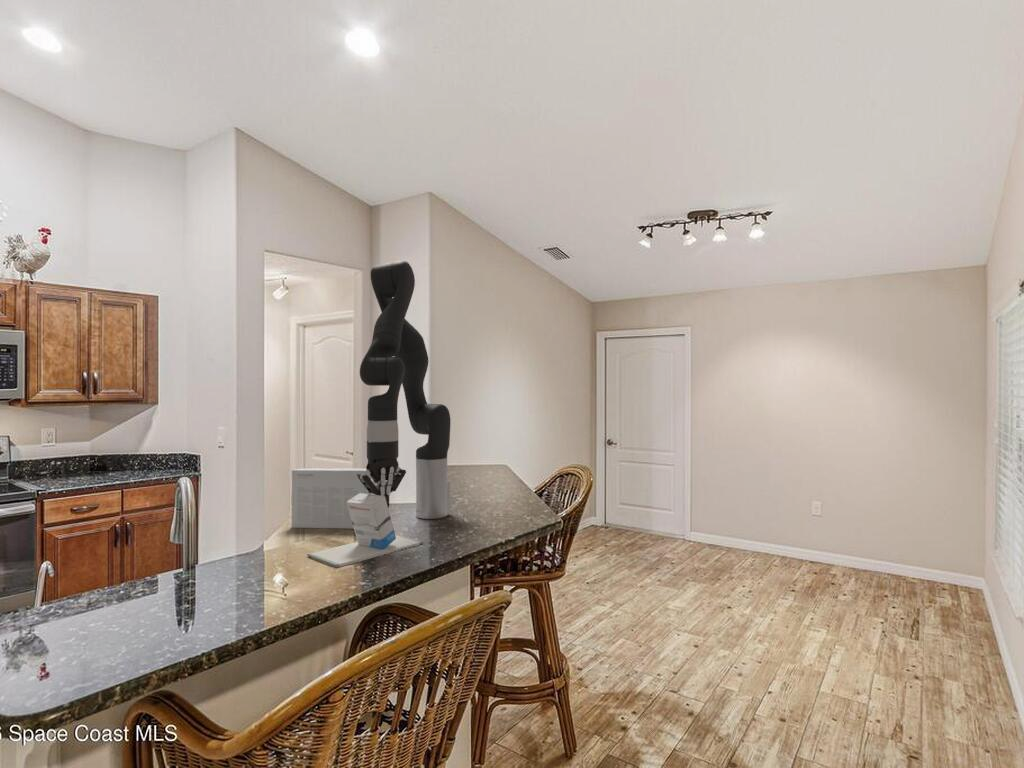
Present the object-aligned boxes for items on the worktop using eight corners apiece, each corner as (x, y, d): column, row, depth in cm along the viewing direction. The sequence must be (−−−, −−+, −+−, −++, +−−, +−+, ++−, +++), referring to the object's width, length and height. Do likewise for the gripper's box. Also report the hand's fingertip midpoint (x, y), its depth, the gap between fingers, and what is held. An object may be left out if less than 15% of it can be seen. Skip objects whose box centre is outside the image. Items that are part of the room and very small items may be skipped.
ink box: (397, 539, 138) (386, 495, 135) (383, 550, 134) (372, 505, 131) (370, 534, 143) (360, 491, 140) (356, 545, 139) (345, 501, 136)
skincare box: (371, 524, 161) (371, 467, 161) (365, 529, 156) (364, 470, 156) (299, 523, 163) (299, 467, 163) (290, 528, 158) (290, 470, 158)
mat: (392, 535, 149) (392, 533, 149) (423, 543, 142) (422, 541, 142) (307, 556, 131) (307, 553, 131) (336, 567, 124) (336, 564, 124)
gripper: (395, 436, 147) (395, 504, 147) (350, 440, 137) (350, 512, 137) (414, 438, 142) (414, 508, 142) (368, 442, 132) (368, 517, 132)
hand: (382, 510), depth 140 cm, fingers closed
